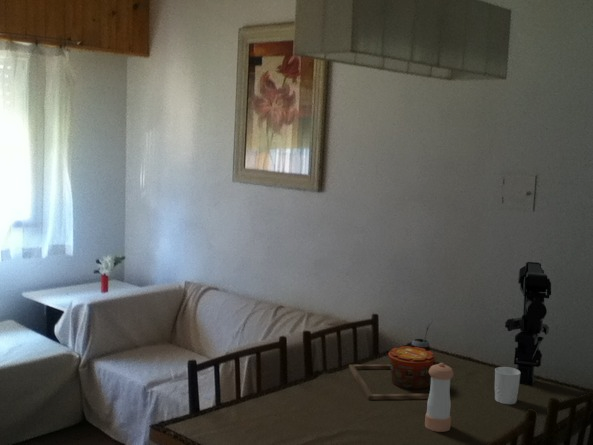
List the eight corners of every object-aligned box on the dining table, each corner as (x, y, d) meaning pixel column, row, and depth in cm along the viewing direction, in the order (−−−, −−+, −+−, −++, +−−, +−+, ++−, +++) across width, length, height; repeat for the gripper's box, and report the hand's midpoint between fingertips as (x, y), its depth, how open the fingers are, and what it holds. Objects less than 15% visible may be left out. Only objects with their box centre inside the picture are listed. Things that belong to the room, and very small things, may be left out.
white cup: (519, 406, 222) (521, 376, 220) (493, 403, 223) (496, 373, 222) (516, 397, 229) (519, 368, 228) (492, 394, 231) (494, 365, 230)
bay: (417, 367, 256) (417, 364, 255) (445, 398, 226) (445, 395, 226) (348, 367, 252) (349, 364, 252) (368, 399, 222) (368, 396, 222)
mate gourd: (409, 363, 260) (412, 324, 258) (410, 356, 267) (412, 318, 266) (430, 365, 259) (432, 325, 257) (429, 358, 266) (432, 320, 264)
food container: (380, 385, 235) (382, 355, 234) (395, 372, 250) (397, 342, 248) (426, 395, 228) (428, 363, 227) (439, 380, 243) (441, 350, 241)
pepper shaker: (435, 433, 199) (439, 368, 196) (419, 423, 205) (423, 360, 203) (455, 429, 202) (459, 365, 200) (439, 419, 209) (443, 357, 206)
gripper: (517, 302, 238) (513, 347, 240) (500, 313, 223) (496, 360, 225) (551, 308, 232) (547, 353, 234) (536, 319, 217) (532, 368, 219)
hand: (530, 358), depth 228 cm, fingers closed
